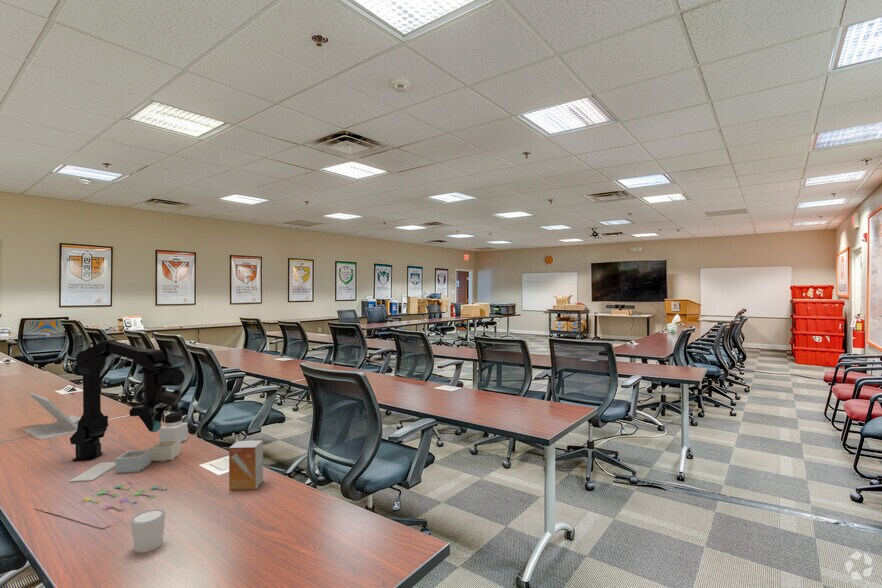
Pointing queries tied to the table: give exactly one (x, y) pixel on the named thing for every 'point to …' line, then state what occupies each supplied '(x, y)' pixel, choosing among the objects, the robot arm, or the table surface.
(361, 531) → the table surface
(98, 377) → the robot arm
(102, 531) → the table surface
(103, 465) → the mat
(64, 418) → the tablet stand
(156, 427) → the teal ball
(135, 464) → the grey open box
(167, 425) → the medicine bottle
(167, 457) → the open cream box
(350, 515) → the table surface
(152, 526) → the white oval container
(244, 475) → the small box
